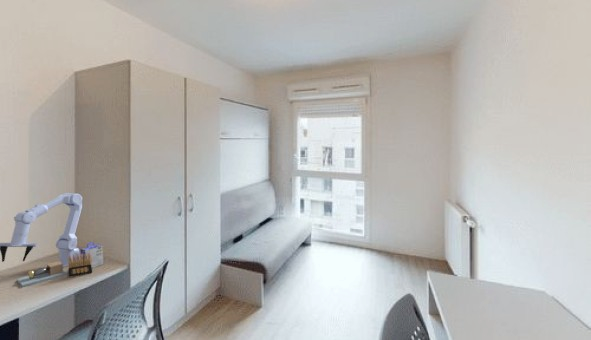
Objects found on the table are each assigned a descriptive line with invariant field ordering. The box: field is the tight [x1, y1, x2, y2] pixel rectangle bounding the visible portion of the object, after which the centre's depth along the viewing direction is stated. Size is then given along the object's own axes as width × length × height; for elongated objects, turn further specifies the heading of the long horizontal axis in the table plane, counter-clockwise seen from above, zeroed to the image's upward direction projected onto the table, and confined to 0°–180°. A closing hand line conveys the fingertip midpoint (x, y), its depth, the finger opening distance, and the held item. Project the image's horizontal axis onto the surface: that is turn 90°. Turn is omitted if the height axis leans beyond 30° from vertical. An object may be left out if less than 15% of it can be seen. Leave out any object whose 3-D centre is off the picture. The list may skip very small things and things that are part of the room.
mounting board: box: [17, 260, 68, 288], centre depth 151 cm, size 18×12×6 cm, turn 144°
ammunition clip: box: [67, 253, 93, 278], centre depth 156 cm, size 11×2×12 cm, turn 121°
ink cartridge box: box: [80, 242, 104, 269], centre depth 166 cm, size 10×6×14 cm, turn 155°
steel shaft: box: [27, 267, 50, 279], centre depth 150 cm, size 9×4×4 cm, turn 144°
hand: (13, 261), depth 143 cm, fingers open, 7 cm apart
